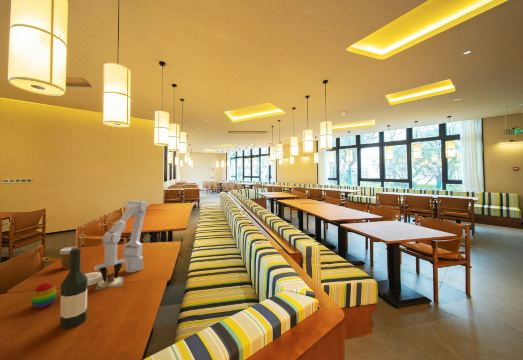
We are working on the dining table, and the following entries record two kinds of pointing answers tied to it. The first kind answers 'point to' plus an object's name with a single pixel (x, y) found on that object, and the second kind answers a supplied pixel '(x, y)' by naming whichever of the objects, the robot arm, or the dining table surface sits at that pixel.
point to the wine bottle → (74, 294)
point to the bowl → (93, 278)
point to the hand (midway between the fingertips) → (110, 279)
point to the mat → (109, 287)
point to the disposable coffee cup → (65, 257)
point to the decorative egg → (44, 295)
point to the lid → (110, 281)
